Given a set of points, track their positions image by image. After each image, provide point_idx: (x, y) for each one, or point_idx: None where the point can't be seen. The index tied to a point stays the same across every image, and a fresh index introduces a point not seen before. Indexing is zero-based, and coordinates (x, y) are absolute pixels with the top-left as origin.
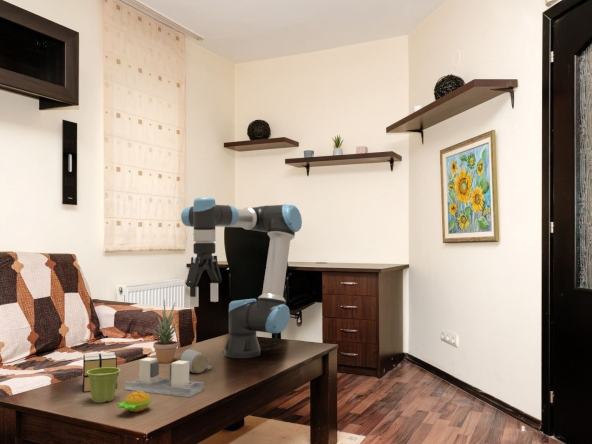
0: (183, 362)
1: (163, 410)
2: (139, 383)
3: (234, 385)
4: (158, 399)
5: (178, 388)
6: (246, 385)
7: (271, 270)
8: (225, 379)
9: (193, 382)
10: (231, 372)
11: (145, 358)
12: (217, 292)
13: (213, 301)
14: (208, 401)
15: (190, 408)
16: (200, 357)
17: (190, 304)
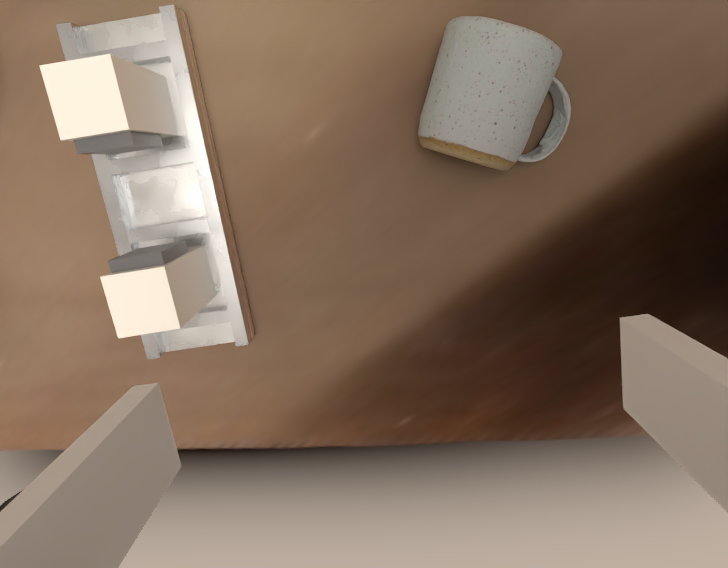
0: (145, 320)
1: (6, 365)
2: None
3: (368, 396)
4: (74, 266)
5: None
6: (390, 433)
7: None
8: (424, 316)
9: (227, 310)
10: (536, 270)
11: (87, 65)
12: (704, 478)
13: (621, 359)
14: None
15: (75, 425)
16: (466, 159)
17: (122, 400)
